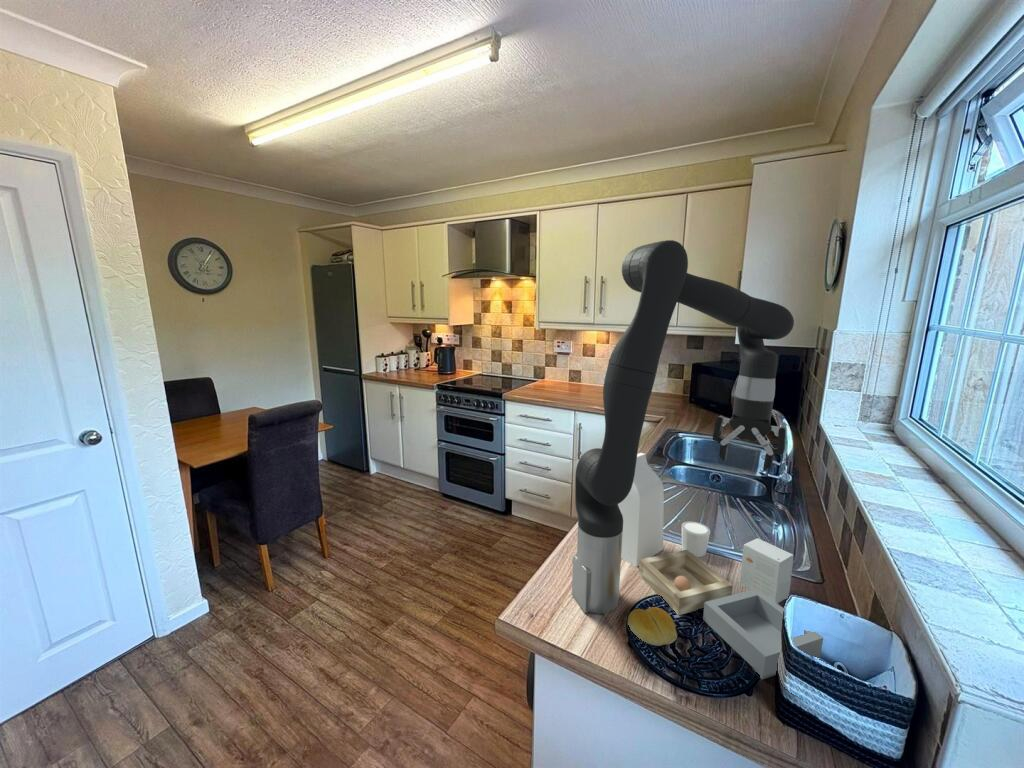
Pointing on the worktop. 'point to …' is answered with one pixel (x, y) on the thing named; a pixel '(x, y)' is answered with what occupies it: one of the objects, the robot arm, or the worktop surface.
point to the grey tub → (755, 629)
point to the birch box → (684, 563)
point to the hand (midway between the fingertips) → (744, 464)
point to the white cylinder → (695, 538)
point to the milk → (642, 515)
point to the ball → (682, 583)
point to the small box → (766, 569)
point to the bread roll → (652, 626)
